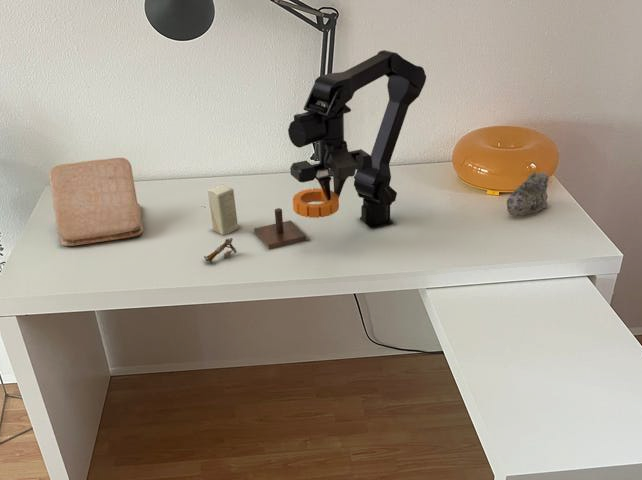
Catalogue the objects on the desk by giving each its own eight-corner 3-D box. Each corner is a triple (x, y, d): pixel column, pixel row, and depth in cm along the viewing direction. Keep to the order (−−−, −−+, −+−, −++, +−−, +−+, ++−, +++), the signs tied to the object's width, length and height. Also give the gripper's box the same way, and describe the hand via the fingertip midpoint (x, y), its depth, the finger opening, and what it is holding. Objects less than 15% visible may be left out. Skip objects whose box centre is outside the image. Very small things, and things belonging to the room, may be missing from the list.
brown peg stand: (291, 224, 195) (289, 198, 191) (306, 240, 187) (305, 213, 183) (254, 232, 192) (252, 206, 187) (268, 249, 184) (266, 222, 180)
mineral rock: (507, 221, 192) (512, 183, 186) (493, 203, 201) (497, 167, 195) (556, 216, 194) (562, 178, 188) (540, 199, 202) (545, 162, 196)
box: (228, 223, 196) (223, 183, 190) (238, 228, 194) (234, 188, 187) (212, 230, 193) (206, 189, 187) (222, 235, 191) (217, 194, 184)
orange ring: (326, 195, 185) (326, 185, 183) (346, 211, 177) (346, 201, 175) (286, 204, 181) (286, 194, 180) (304, 221, 173) (304, 210, 172)
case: (60, 250, 187) (44, 189, 178) (63, 214, 204) (48, 157, 194) (144, 239, 191) (132, 178, 181) (140, 205, 207) (129, 148, 198)
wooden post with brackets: (241, 250, 182) (232, 237, 179) (215, 271, 181) (206, 258, 178) (237, 247, 183) (228, 234, 180) (212, 268, 182) (203, 255, 179)
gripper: (308, 154, 162) (311, 221, 171) (385, 139, 168) (383, 204, 177) (287, 138, 170) (291, 203, 179) (361, 124, 176) (361, 187, 185)
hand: (332, 200), depth 180 cm, fingers closed on orange ring, 2 cm apart
